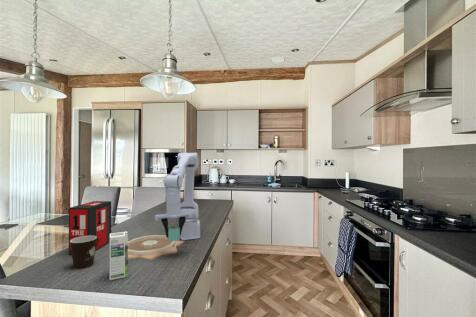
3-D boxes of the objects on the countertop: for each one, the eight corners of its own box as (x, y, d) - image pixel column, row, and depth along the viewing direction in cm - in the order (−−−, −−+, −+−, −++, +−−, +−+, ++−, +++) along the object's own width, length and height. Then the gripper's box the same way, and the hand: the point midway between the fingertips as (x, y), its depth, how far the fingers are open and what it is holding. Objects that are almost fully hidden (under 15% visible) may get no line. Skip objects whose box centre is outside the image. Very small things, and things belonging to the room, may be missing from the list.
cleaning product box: (89, 255, 101) (89, 208, 101) (68, 254, 101) (68, 207, 102) (111, 241, 118) (111, 201, 118) (93, 241, 118) (93, 201, 118)
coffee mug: (76, 272, 85) (76, 244, 86) (65, 266, 90) (65, 240, 90) (108, 260, 95) (108, 235, 95) (97, 256, 100) (97, 232, 100)
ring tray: (179, 234, 129) (179, 229, 130) (189, 254, 101) (189, 249, 101) (116, 241, 118) (116, 236, 118) (108, 267, 90) (108, 260, 90)
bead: (178, 236, 103) (178, 225, 103) (179, 240, 99) (179, 228, 99) (167, 238, 102) (167, 226, 102) (168, 241, 97) (168, 229, 97)
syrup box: (109, 281, 79) (109, 237, 79) (109, 273, 85) (109, 232, 85) (128, 277, 82) (128, 234, 82) (127, 270, 87) (127, 230, 87)
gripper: (155, 206, 94) (155, 240, 94) (192, 203, 99) (192, 236, 99) (154, 203, 101) (154, 235, 101) (189, 201, 106) (189, 231, 106)
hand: (173, 235), depth 100 cm, fingers closed on bead, 4 cm apart
